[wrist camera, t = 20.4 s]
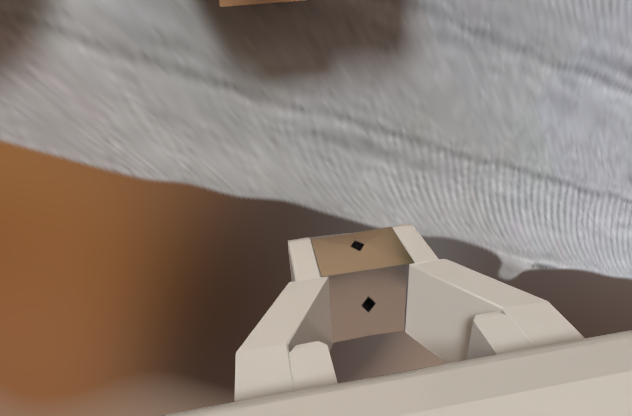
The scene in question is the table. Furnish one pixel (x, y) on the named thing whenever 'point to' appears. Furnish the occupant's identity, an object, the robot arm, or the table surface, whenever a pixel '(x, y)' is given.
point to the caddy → (250, 2)
